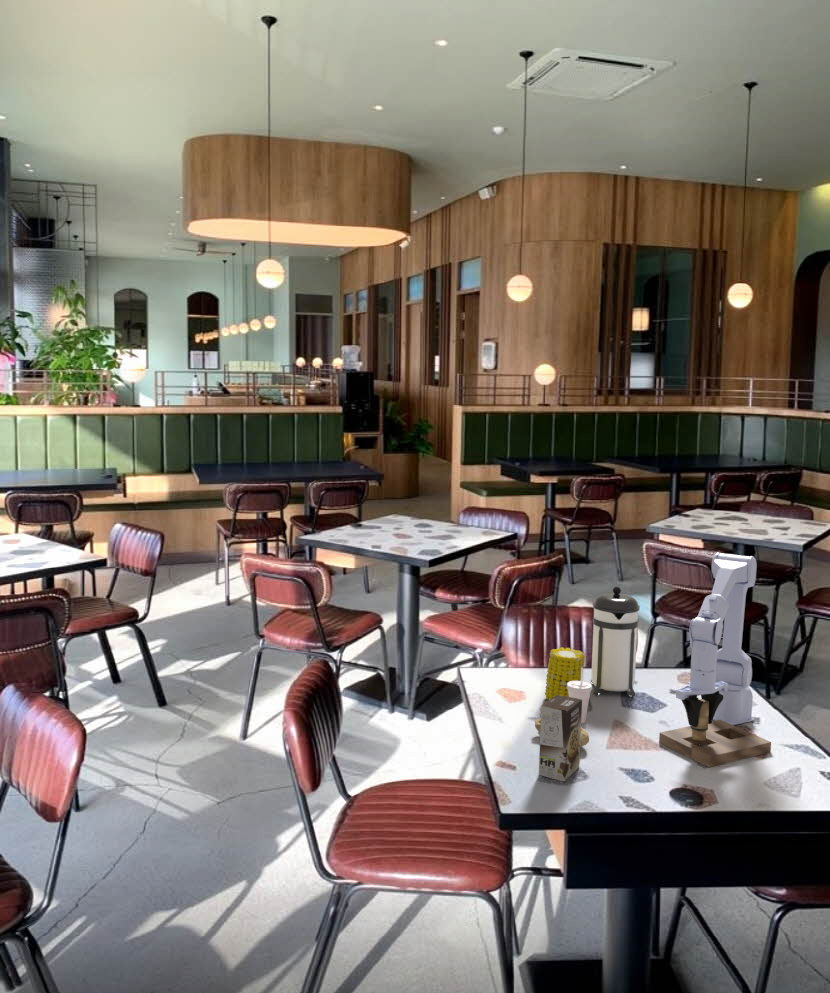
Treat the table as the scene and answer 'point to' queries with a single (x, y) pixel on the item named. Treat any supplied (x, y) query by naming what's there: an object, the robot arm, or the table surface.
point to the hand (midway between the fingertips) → (700, 724)
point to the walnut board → (716, 744)
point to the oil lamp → (584, 734)
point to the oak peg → (701, 722)
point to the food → (563, 670)
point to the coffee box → (560, 737)
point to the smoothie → (580, 693)
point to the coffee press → (614, 642)
